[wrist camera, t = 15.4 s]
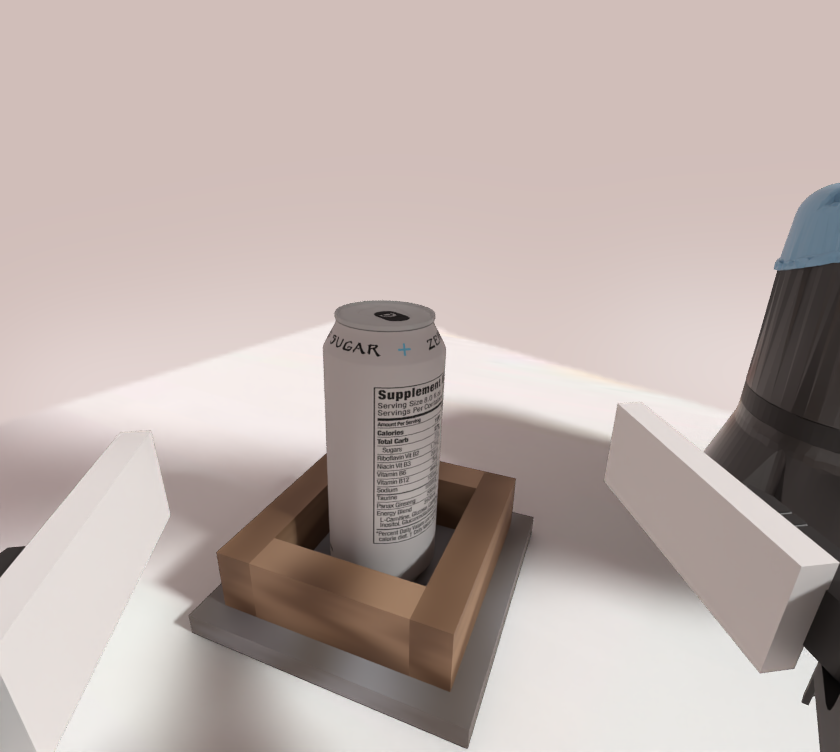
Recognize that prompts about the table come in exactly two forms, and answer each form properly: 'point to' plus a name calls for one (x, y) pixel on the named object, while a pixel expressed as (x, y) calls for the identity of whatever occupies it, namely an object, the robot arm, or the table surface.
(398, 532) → the energy drink can
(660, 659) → the table surface
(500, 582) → the brown wooden open box
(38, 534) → the robot arm
